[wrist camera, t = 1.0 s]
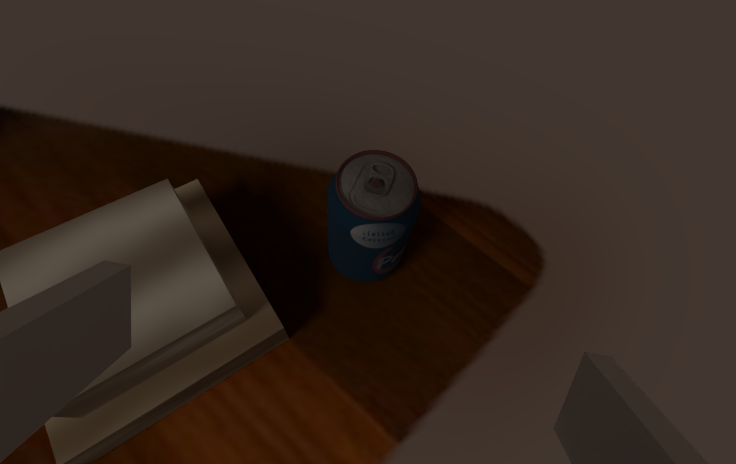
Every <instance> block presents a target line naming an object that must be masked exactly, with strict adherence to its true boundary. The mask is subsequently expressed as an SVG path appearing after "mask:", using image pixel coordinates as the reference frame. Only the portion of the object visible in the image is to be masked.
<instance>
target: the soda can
mask: <svg viewBox="0 0 736 464" xmlns="http://www.w3.org/2000/svg"><path fill="white" fill-rule="evenodd" d="M420 207H421V195H420V191H419V188H418V184H417V179H416V176H415V173H414V172H413V170H412V169H411V167H410V166H409V165H408V164H407V163H406V162H405V161H404V160H403V159H401V158H400V157H398V156H396V155H394V154H392V153H389V152H386V151H380V150H368V151H363V152H359V153H357V154H354V155H353V156H351V157H349V158H348V159H347V160H346V161H345V162H344V163H343V164H342V165H341V167H340V168H339V170H338V171H337V173H336V174H335V175H334V176H333V178H332V180H331V182H330V184H329V187H328V192H327V212H328V252H329V257H330V259H331V261H332V263H333V265H334V266H335V268H336V269H337V270H338V271H339V272H340V273H341V274H343V275H344V276H346V277H347V278H349V279H352V280H355V281H359V282H373V281H377V280H380V279H383V278H385V277H386V276H388V275H389V274H390V273H392V272H393V271H394V269H395V268H396V267H397V265H398V264H399V261H400V259H401V256H402V254H403V251H404V249H405V246H406V244H407V241H408V239H409V236H410V234H411V231H412V229H413V226H414V224H415V221H416V219H417V216H418V214H419V211H420Z"/></svg>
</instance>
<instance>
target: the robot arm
mask: <svg viewBox="0 0 736 464" xmlns="http://www.w3.org/2000/svg"><path fill="white" fill-rule="evenodd" d="M130 348H131V265H127V264H122V263H116V262H111V261H106V260H104V261H102V262H100V263H98V264H96V265H94V266H92V267H90V268H88V269H86V270H84V271H82V272H80V273H78V274H76V275H74V276H72V277H70V278H68V279H66V280H64V281H62V282H60V283H58V284H56V285H54V286H52V287H50V288H48V289H46V290H44V291H42V292H39V293H37V294H35V295H33V296H31V297H29V298H27V299H25V300H23V301H21V302H19V303H17V304H15V305H13V306H11V307H9V308H7V309H5V310H3V311H1V312H0V462H2V461H3V460H4V459H5V458H6V457H7V456H8V455H9V454H11V453H12V452H13V451H14V450H15V449H16V448H17V447H19V446H20V445H21V444H22V443H23V442H24V441H25V440H27V439H28V438H29V437H30V436H31V435H32V434H33V433H35V432H36V431H37V430H38V429H39V428H40V427H41V426H42V425H44V424H45V423H46V422H47V421H48V420H49V419H50V418H52V417H53V416H54V415H55V414H56V413H57V412H58V411H60V410H61V409H62V408H63V407H64V406H65V405H66V404H68V403H69V402H70V401H71V400H72V399H73V398H74V397H75V396H77V395H78V394H79V393H80V392H81V391H82V390H83V389H85V388H86V387H87V386H88V385H89V384H90V383H91V382H93V381H94V380H95V379H96V378H97V377H98V376H99V375H101V374H102V373H103V372H104V371H105V370H106V369H107V368H109V367H110V366H111V365H112V364H113V363H114V362H115V361H116V360H118V359H119V358H120V357H121V356H122V355H123V354H124V353H126V352H127V351H128V350H129V349H130ZM554 430H555V432H556V434H557V436H558V438H559V440H560V442H561V444H562V446H563V448H564V450H565V452H566V454H567V456H568V458H569V460H570V462H571V463H572V464H708V463H707V462H706V461H705V459H703V457H702V456H701V455H700V454H699V453H698V452H697V451H696V450H695V449H694V447H693V446H692V445H691V444H690V443H689V442H688V441H687V440H686V439H685V438H684V436H683V435H682V434H681V433H680V432H679V431H678V430H677V429H676V428H675V426H674V425H673V424H672V423H671V422H670V421H669V420H668V419H667V418H666V416H665V415H664V414H663V413H662V412H661V411H660V410H659V409H658V408H657V407H656V405H655V404H654V403H653V402H652V401H651V400H650V399H649V398H648V397H647V396H646V394H645V393H644V392H643V391H642V390H641V389H640V388H639V387H638V386H637V385H636V383H635V382H634V381H633V380H632V379H631V378H630V377H629V376H628V375H627V374H626V373H625V371H624V370H623V369H622V368H621V367H620V366H619V365H618V364H617V363H616V362H615V360H614V359H613V358H612V357H609V356H603V355H598V354H593V353H588V352H584V355H583V358H582V360H581V362H580V365H579V367H578V370H577V372H576V375H575V377H574V380H573V382H572V385H571V387H570V390H569V392H568V395H567V397H566V400H565V402H564V405H563V407H562V410H561V412H560V415H559V417H558V420H557V422H556V424H555V427H554Z"/></svg>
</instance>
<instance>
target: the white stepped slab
mask: <svg viewBox="0 0 736 464" xmlns="http://www.w3.org/2000/svg"><path fill="white" fill-rule="evenodd" d="M104 260H106V261H111V262H116V263H122V264H127V265H131V348H130V349H129V350H128V351H127V352H126V353H124V354H123V355H122V356H121V357H120V358H119V359H118V360H116V361H115V362H114V363H113V364H112V365H111V366H110V367H109V368H107V369H106V370H105V371H104V372H103V373H102V374H101V375H99V376H98V377H97V378H96V379H95V380H94V381H93V382H91V383H90V384H89V385H88V386H87V387H86V388H85V389H83V390H82V391H81V392H80V393H79V394H78V395H77V396H75V397H74V398H73V399H72V400H71V401H70V402H69V403H68V404H66V405H65V406H64V407H63V408H62V409H61V410H60V411H58V412H57V413H56V414H55V415H54V416H53V417H52V418H50V419H49V420H48V421H47V422H46V423H45V426H46V430H47V433H48V436H49V440H50V443H51V446H52V449H53V453H54V456H55V459H56V463H57V464H83V463H90V462H94V461H95V460H97V459H99V458H100V457H102V456H103V455H105V454H107V453H108V452H110V451H111V450H113V449H114V448H116V447H118V446H119V445H121V444H122V443H124V442H126V441H127V440H129V439H130V438H132V437H134V436H135V435H137V434H138V433H140V432H141V431H143V430H145V429H146V428H148V427H149V426H151V425H153V424H154V423H156V422H157V421H159V420H161V419H162V418H164V417H165V416H167V415H168V414H170V413H172V412H173V411H175V410H176V409H178V408H180V407H181V406H183V405H184V404H186V403H188V402H189V401H191V400H192V399H194V398H195V397H197V396H199V395H200V394H202V393H203V392H205V391H207V390H208V389H210V388H211V387H213V386H215V385H216V384H218V383H219V382H221V381H222V380H224V379H226V378H227V377H229V376H230V375H232V374H234V373H235V372H237V371H238V370H240V369H242V368H243V367H245V366H246V365H248V364H249V363H251V362H253V361H254V360H256V359H257V358H259V357H261V356H262V355H264V354H265V353H267V352H269V351H270V350H272V349H273V348H275V347H276V346H278V345H280V344H281V343H283V342H284V341H286V340H288V339H289V337H288V335H287V333H286V331H285V329H284V327H283V325H282V324H281V322H280V320H279V318H278V317H277V315H276V313H275V312H274V310H273V308H272V306H271V305H270V303H269V301H268V300H267V298H266V296H265V294H264V293H263V291H262V289H261V288H260V286H259V284H258V282H257V281H256V279H255V277H254V275H253V274H252V272H251V270H250V269H249V267H248V265H247V263H246V262H245V260H244V258H243V257H242V255H241V253H240V251H239V250H238V248H237V246H236V245H235V243H234V241H233V239H232V238H231V236H230V234H229V233H228V231H227V229H226V227H225V226H224V224H223V222H222V221H221V219H220V217H219V215H218V214H217V212H216V210H215V208H214V207H213V205H212V203H211V202H210V200H209V198H208V196H207V195H206V193H205V191H204V190H203V188H202V186H201V184H200V183H199V181H198V179H197V180H194V181H192V182H190V183H188V184H185V185H183V186H181V187H179V188H176V189H174V188H173V187H172V185H171V184H170V182H169V181H168V179H165V180H163V181H161V182H158V183H156V184H154V185H151V186H149V187H147V188H145V189H142V190H140V191H138V192H135V193H133V194H131V195H128V196H126V197H124V198H121V199H119V200H117V201H114V202H112V203H110V204H107V205H105V206H103V207H100V208H98V209H96V210H93V211H91V212H89V213H86V214H84V215H82V216H80V217H77V218H75V219H73V220H70V221H68V222H66V223H63V224H61V225H59V226H56V227H54V228H52V229H49V230H47V231H45V232H42V233H40V234H38V235H35V236H33V237H31V238H28V239H26V240H24V241H21V242H19V243H17V244H15V245H12V246H10V247H8V248H5V249H3V250H1V251H0V282H1V285H2V289H3V292H4V295H5V299H6V302H7V305H8V308H9V307H11V306H13V305H15V304H17V303H19V302H21V301H23V300H25V299H27V298H29V297H31V296H33V295H35V294H37V293H39V292H42V291H44V290H46V289H48V288H50V287H52V286H54V285H56V284H58V283H60V282H62V281H64V280H66V279H68V278H70V277H72V276H74V275H76V274H78V273H80V272H82V271H84V270H86V269H88V268H90V267H92V266H94V265H96V264H98V263H100V262H102V261H104Z"/></svg>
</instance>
